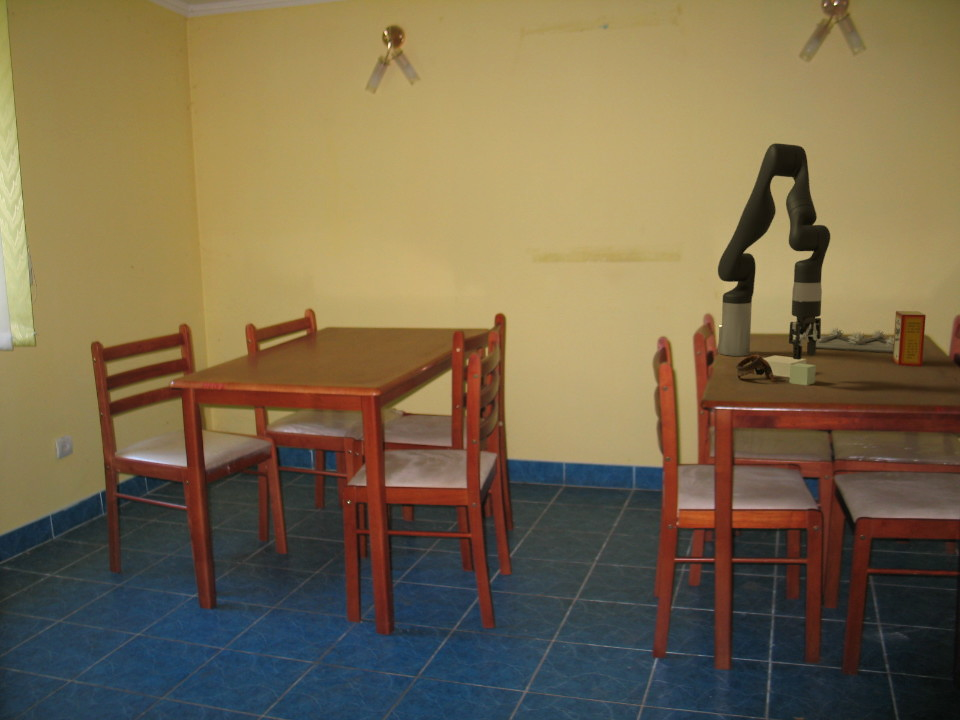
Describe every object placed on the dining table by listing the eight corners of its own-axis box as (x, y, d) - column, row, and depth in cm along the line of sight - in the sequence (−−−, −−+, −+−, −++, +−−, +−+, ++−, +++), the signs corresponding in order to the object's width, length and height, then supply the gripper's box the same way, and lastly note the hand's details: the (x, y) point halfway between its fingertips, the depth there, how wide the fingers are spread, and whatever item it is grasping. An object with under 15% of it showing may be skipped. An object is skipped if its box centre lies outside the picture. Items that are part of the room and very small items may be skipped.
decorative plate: (907, 346, 312) (909, 326, 310) (905, 355, 293) (906, 334, 291) (816, 341, 325) (817, 322, 324) (808, 350, 306) (809, 329, 305)
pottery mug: (775, 386, 248) (761, 361, 246) (743, 397, 253) (729, 373, 251) (779, 368, 257) (766, 343, 256) (749, 379, 262) (735, 356, 261)
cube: (789, 383, 249) (790, 365, 248) (797, 380, 252) (798, 363, 252) (806, 385, 245) (807, 367, 245) (814, 382, 249) (815, 365, 248)
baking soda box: (892, 360, 282) (896, 309, 279) (915, 360, 280) (918, 310, 278) (898, 365, 273) (902, 313, 270) (921, 366, 271) (925, 313, 269)
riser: (757, 373, 264) (758, 359, 263) (774, 368, 271) (774, 355, 270) (790, 377, 257) (790, 363, 256) (805, 372, 264) (806, 359, 263)
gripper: (805, 296, 252) (802, 353, 255) (781, 300, 243) (779, 359, 245) (831, 297, 247) (828, 355, 250) (808, 301, 237) (805, 361, 240)
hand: (804, 357), depth 247 cm, fingers open, 8 cm apart
